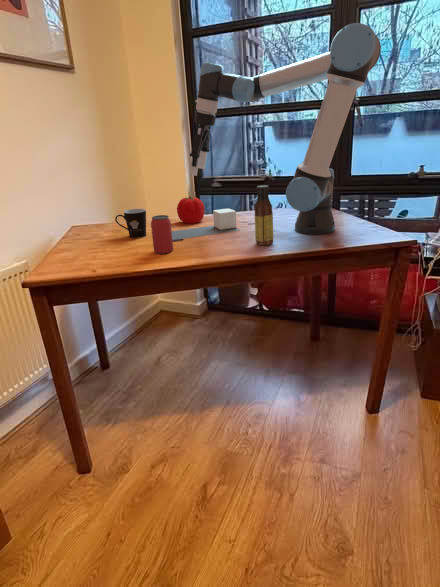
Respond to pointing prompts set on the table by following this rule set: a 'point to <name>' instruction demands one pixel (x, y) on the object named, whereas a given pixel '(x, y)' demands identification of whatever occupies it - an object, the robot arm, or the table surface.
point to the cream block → (224, 219)
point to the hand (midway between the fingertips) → (197, 171)
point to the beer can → (162, 234)
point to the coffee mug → (135, 222)
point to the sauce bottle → (263, 217)
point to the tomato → (190, 210)
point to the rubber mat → (197, 232)
